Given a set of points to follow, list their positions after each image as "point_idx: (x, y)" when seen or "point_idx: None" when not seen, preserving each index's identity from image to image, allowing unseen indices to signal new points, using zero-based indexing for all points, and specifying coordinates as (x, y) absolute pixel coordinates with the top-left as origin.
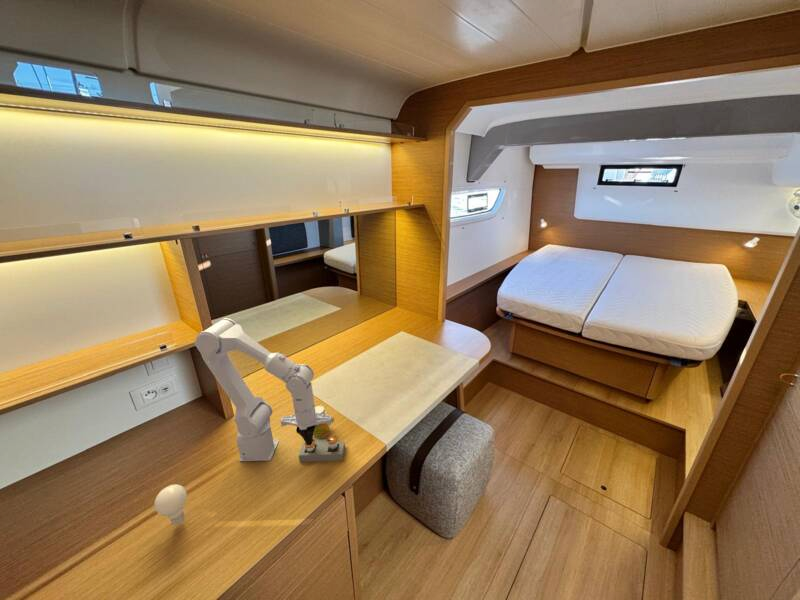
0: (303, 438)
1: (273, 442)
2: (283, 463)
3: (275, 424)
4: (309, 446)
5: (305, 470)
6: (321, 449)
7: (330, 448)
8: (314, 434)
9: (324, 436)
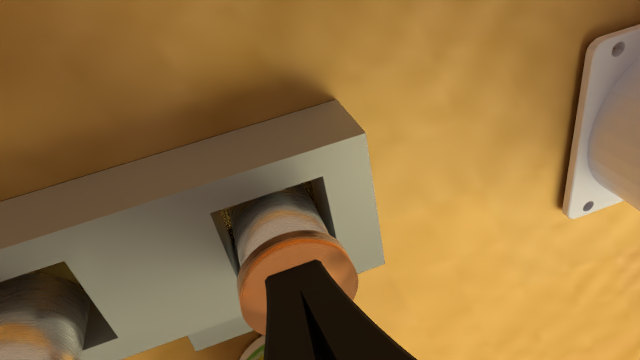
0: (385, 341)
1: (622, 184)
2: (471, 44)
3: (606, 297)
4: (275, 255)
5: (225, 19)
6: (158, 265)
7: (23, 314)
8: None
9: (248, 355)
